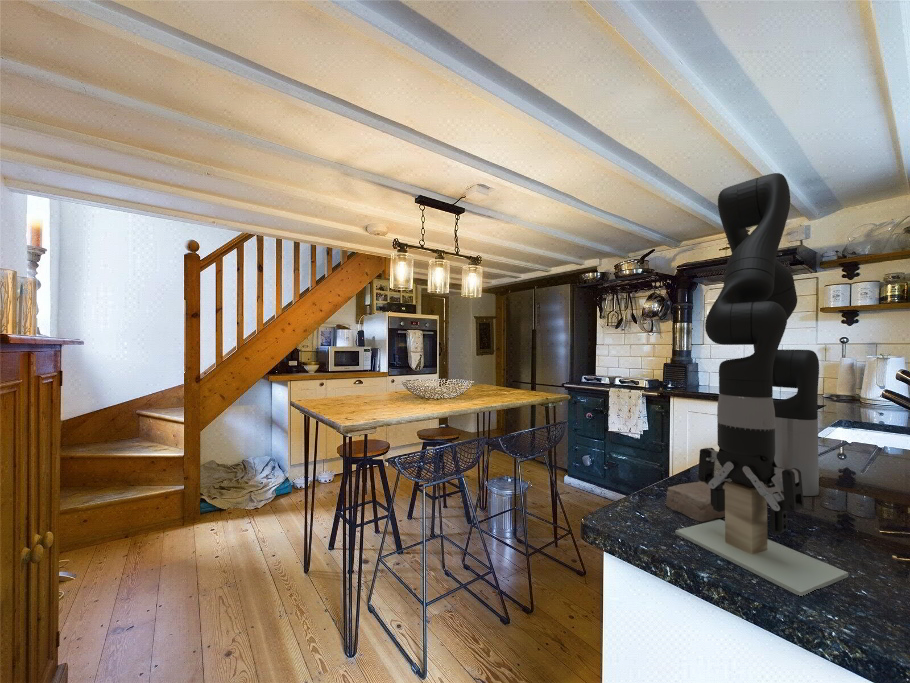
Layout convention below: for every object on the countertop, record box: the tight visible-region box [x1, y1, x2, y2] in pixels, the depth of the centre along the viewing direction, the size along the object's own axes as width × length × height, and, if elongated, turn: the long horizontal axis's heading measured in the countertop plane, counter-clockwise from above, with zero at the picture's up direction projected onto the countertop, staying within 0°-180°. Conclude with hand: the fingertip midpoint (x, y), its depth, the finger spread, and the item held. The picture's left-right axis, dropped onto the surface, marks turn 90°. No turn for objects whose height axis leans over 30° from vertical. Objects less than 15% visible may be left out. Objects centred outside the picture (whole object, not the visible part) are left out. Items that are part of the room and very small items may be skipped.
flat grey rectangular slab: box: [675, 518, 849, 597], centre depth 60 cm, size 12×18×1 cm, turn 22°
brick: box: [665, 480, 731, 523], centre depth 77 cm, size 17×8×5 cm, turn 112°
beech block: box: [724, 480, 768, 555], centre depth 61 cm, size 4×4×10 cm
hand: (746, 521), depth 61 cm, fingers open, 8 cm apart
